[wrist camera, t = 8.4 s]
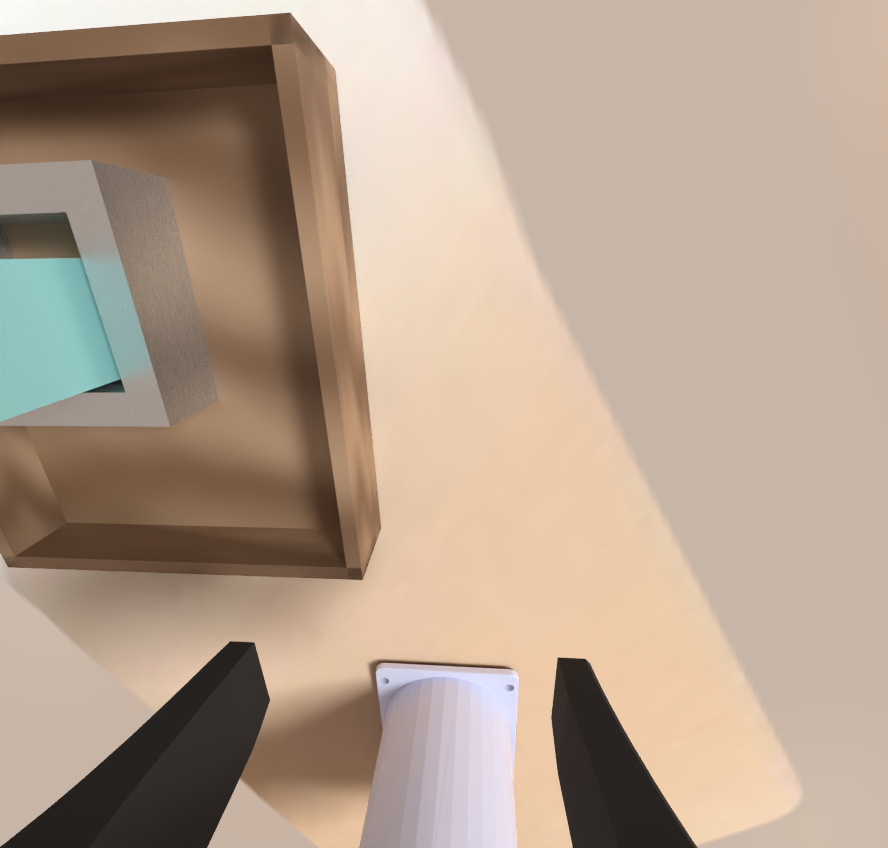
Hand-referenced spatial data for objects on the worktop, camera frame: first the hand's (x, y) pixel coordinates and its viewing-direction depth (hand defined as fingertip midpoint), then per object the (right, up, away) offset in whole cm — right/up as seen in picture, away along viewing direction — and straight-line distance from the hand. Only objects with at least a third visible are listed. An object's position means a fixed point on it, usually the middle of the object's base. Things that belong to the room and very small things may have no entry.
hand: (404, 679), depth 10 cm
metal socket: (-12, +11, +7) cm, 18 cm away
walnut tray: (-10, +9, +8) cm, 16 cm away
